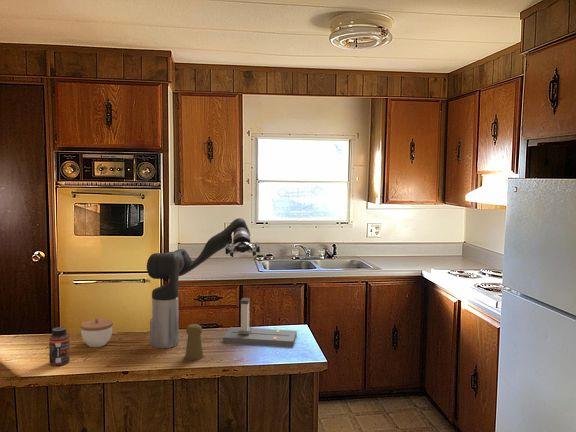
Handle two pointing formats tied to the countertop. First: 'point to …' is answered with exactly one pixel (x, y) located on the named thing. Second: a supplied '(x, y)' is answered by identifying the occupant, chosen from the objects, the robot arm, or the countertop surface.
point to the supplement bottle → (59, 347)
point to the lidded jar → (96, 332)
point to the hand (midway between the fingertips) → (243, 254)
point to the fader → (245, 316)
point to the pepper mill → (194, 342)
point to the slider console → (261, 337)
